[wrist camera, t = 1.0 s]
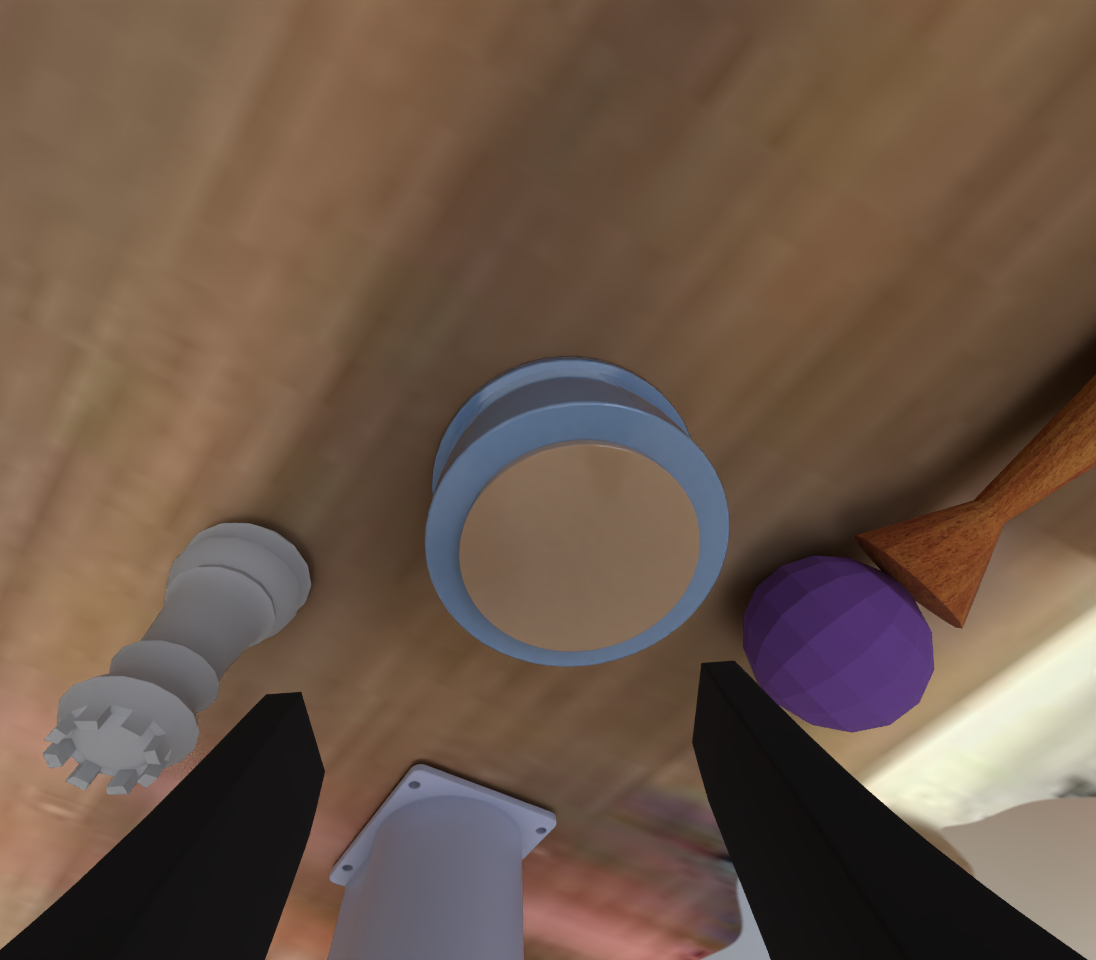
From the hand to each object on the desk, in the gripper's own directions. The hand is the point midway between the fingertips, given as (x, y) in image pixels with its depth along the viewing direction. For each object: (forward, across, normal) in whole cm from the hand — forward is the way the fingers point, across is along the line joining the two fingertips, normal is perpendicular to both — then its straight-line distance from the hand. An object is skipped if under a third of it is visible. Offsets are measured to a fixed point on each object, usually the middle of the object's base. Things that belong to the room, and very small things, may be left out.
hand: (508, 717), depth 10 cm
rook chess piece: (+10, +10, +3) cm, 14 cm away
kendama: (+10, -16, +1) cm, 19 cm away
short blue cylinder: (+10, -2, 0) cm, 10 cm away
